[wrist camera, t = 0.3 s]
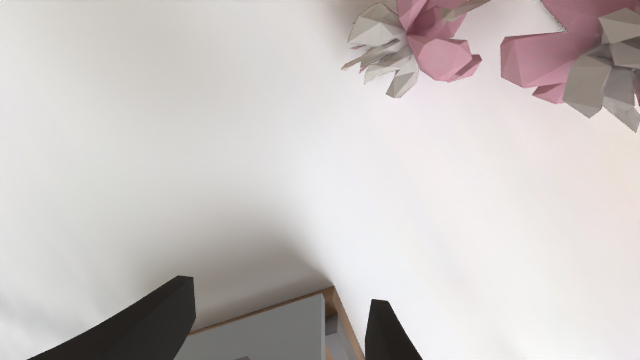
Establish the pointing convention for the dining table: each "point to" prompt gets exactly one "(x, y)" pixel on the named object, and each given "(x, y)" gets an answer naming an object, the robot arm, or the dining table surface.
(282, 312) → the panel
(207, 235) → the dining table surface
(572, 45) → the flower
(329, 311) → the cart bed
